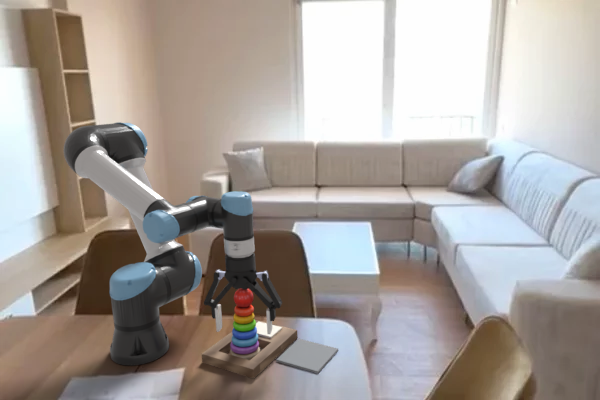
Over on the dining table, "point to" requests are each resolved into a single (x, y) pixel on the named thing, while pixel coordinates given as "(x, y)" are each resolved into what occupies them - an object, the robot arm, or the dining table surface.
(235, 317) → the stacking toy
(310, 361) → the gray square plate
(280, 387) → the dining table surface
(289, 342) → the walnut puzzle board
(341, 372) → the dining table surface
